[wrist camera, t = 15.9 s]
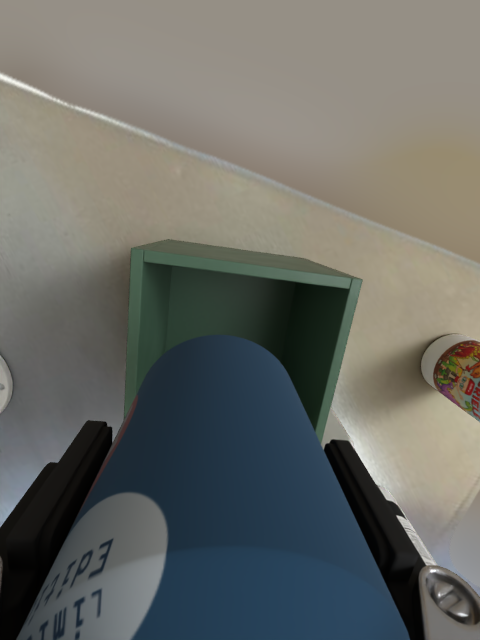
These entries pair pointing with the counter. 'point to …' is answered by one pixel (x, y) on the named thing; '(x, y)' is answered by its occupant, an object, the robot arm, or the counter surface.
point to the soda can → (215, 518)
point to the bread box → (241, 312)
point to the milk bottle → (455, 370)
